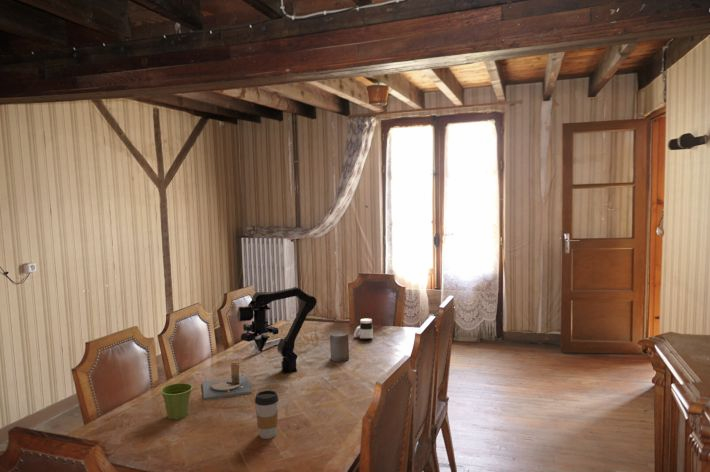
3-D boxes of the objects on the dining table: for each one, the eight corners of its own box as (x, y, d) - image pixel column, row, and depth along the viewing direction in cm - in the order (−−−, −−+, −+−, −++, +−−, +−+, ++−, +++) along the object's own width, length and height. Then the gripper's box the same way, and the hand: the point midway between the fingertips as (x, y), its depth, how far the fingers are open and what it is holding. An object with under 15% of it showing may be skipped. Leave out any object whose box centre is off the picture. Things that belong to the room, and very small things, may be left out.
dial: (205, 389, 214) (204, 366, 214) (221, 378, 227) (220, 357, 226) (231, 392, 211) (230, 369, 210) (246, 381, 223) (245, 359, 222)
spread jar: (373, 341, 285) (372, 321, 285) (353, 341, 286) (353, 322, 285) (372, 335, 297) (372, 316, 296) (354, 335, 298) (353, 317, 297)
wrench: (283, 347, 287) (251, 356, 260) (281, 347, 288) (248, 356, 261) (284, 333, 287) (252, 341, 260) (281, 333, 288) (249, 341, 261)
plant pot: (175, 425, 184) (173, 396, 183) (155, 418, 190) (153, 390, 189) (200, 413, 194) (199, 386, 193) (180, 407, 200) (179, 380, 199)
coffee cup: (257, 429, 179) (256, 390, 178) (280, 428, 180) (279, 389, 178) (254, 441, 171) (253, 399, 169) (278, 439, 171) (277, 398, 170)
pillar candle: (350, 356, 260) (349, 328, 259) (347, 362, 250) (347, 333, 249) (332, 356, 261) (331, 328, 260) (329, 362, 251) (328, 333, 250)
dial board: (246, 377, 231) (246, 374, 231) (251, 393, 213) (251, 389, 212) (202, 383, 225) (202, 380, 225) (203, 400, 206) (203, 396, 206)
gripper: (264, 313, 244) (264, 343, 245) (233, 320, 229) (233, 352, 230) (279, 316, 237) (279, 348, 238) (248, 324, 222) (248, 357, 223)
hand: (260, 351), depth 232 cm, fingers closed
